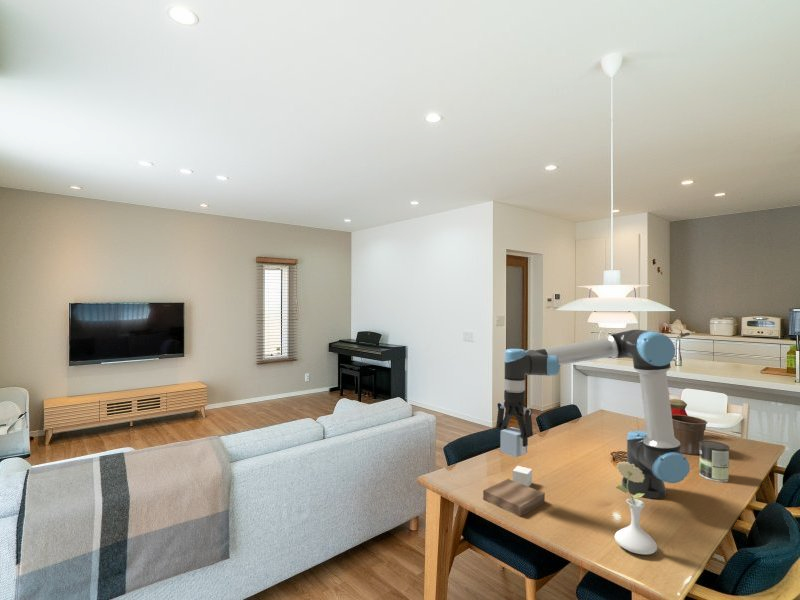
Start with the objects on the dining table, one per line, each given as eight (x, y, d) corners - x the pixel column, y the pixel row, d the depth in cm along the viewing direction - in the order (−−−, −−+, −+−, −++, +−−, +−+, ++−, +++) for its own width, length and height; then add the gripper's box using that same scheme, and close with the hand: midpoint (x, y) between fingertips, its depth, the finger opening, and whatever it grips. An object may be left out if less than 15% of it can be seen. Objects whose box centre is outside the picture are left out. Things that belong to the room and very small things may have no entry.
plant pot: (696, 446, 215) (696, 415, 215) (714, 457, 199) (714, 424, 199) (662, 444, 218) (662, 413, 218) (677, 455, 202) (677, 422, 202)
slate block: (527, 452, 154) (527, 431, 154) (516, 457, 150) (516, 435, 150) (511, 447, 160) (511, 427, 160) (500, 451, 155) (500, 430, 155)
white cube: (531, 483, 170) (531, 469, 170) (527, 489, 165) (527, 474, 165) (517, 479, 173) (517, 465, 173) (512, 485, 168) (512, 470, 168)
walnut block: (544, 503, 154) (544, 493, 154) (520, 518, 143) (520, 506, 143) (508, 488, 166) (508, 478, 166) (483, 501, 155) (483, 490, 155)
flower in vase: (666, 555, 122) (667, 471, 122) (635, 561, 119) (636, 475, 119) (630, 531, 135) (631, 455, 135) (601, 536, 132) (602, 458, 132)
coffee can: (696, 476, 177) (697, 444, 177) (701, 470, 185) (701, 438, 185) (727, 484, 170) (727, 450, 170) (730, 477, 177) (731, 444, 177)
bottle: (686, 433, 237) (687, 398, 237) (698, 440, 224) (698, 404, 224) (656, 430, 240) (656, 396, 240) (665, 438, 227) (665, 402, 227)
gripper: (544, 393, 150) (543, 457, 150) (498, 384, 165) (497, 442, 165) (532, 396, 145) (531, 462, 145) (486, 387, 160) (485, 446, 160)
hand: (513, 451), depth 155 cm, fingers closed on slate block, 7 cm apart
